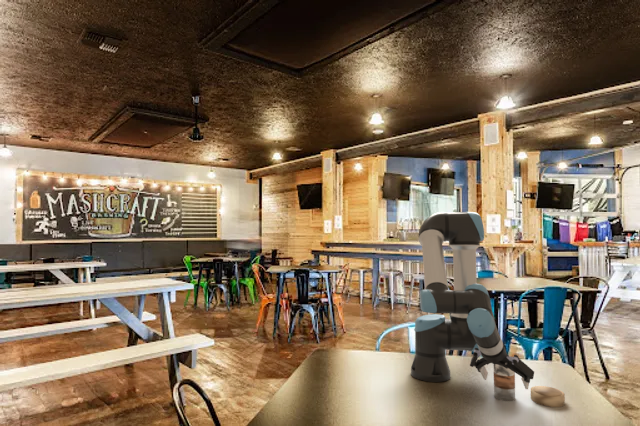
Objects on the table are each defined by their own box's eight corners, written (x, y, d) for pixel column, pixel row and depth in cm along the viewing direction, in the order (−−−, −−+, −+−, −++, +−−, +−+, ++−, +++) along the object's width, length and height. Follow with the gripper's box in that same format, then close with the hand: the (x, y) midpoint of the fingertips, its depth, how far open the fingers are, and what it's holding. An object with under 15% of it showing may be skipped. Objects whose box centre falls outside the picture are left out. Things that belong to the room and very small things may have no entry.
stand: (527, 401, 138) (527, 391, 139) (534, 392, 146) (534, 383, 146) (561, 409, 132) (561, 399, 132) (567, 399, 140) (567, 390, 140)
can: (491, 397, 142) (490, 361, 142) (497, 391, 147) (496, 356, 147) (512, 402, 138) (511, 365, 138) (517, 396, 143) (516, 360, 143)
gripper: (450, 349, 139) (467, 382, 149) (531, 364, 122) (544, 400, 133) (456, 330, 143) (472, 363, 154) (535, 342, 127) (547, 379, 138)
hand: (506, 380), depth 144 cm, fingers open, 13 cm apart
